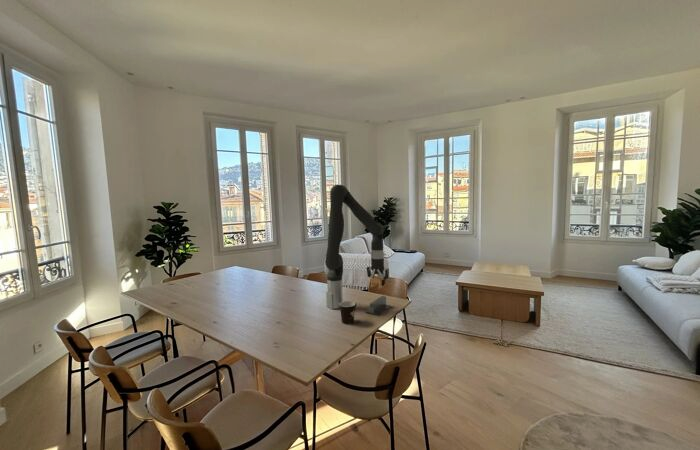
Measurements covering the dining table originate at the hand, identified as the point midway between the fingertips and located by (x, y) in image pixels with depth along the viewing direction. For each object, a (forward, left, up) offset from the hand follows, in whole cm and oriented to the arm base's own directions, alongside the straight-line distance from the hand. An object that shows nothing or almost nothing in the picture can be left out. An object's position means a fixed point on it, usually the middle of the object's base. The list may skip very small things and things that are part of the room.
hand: (378, 284), depth 181 cm
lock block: (0, 0, -1) cm, 1 cm away
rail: (0, 0, -15) cm, 15 cm away
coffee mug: (-23, -3, -16) cm, 28 cm away
